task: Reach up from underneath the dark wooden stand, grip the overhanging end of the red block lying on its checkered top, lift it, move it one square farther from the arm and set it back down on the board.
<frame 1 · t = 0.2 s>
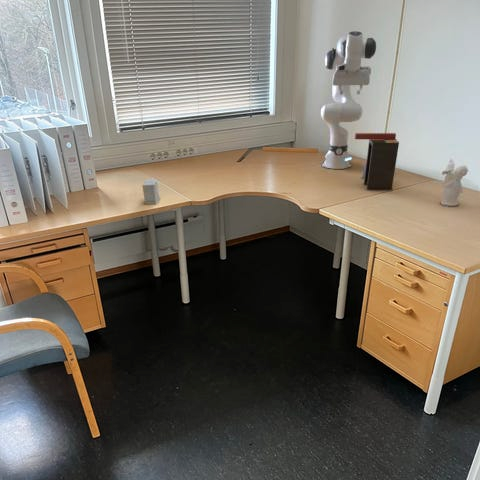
hand: (349, 94, 268), 48 cm above the table, tool pointing down, fingers open, 8 cm apart
red block: (374, 138, 268), point 26 cm above the table, touching stand
cosmetics box: (152, 201, 263), on the table
medicine box: (369, 179, 294), on the table
stand: (377, 186, 279), on the table
cherub figurine: (445, 204, 252), on the table
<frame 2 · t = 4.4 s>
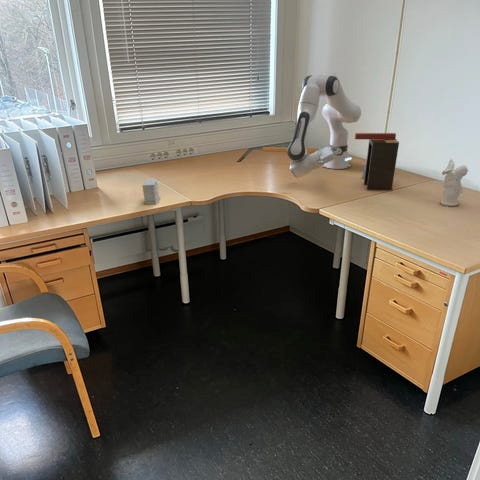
hand: (339, 147, 272), 21 cm above the table, tool pointing upward, fingers open, 8 cm apart
nothing on the table moved.
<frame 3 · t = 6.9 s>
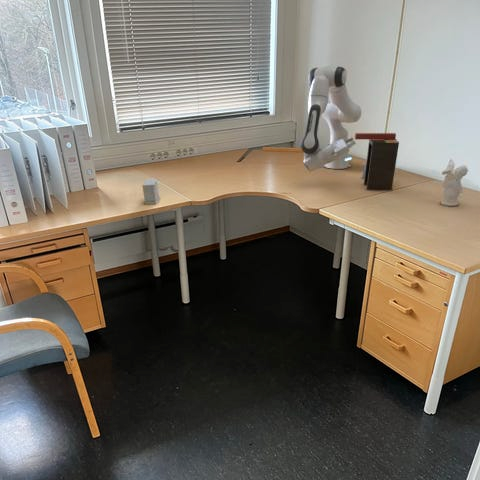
hand: (353, 140, 269), 25 cm above the table, tool pointing upward, fingers open, 8 cm apart
nothing on the table moved.
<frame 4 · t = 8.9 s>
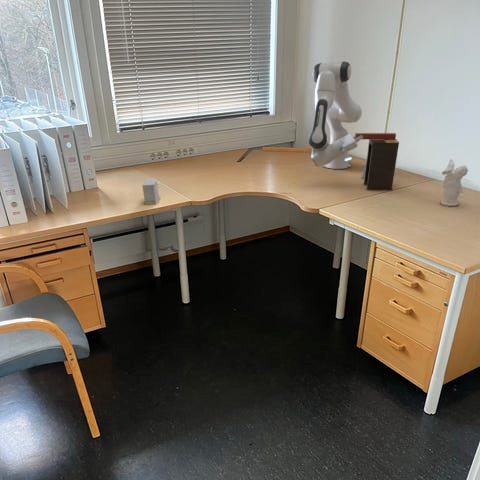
hand: (362, 135, 268), 28 cm above the table, tool pointing upward, fingers closed on red block, 3 cm apart
red block: (374, 138, 268), point 26 cm above the table, touching gripper, stand
everything else where it was.
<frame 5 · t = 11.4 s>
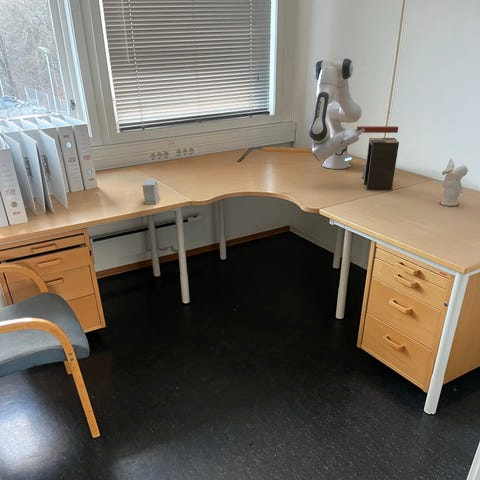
hand: (363, 128, 263), 32 cm above the table, tool pointing upward, fingers closed on red block, 3 cm apart
red block: (376, 132, 263), point 30 cm above the table, touching gripper
everything else where it was.
when the fingers open (28 cm above the table, at t = 13.8 s): red block stays where it is, resting on stand.
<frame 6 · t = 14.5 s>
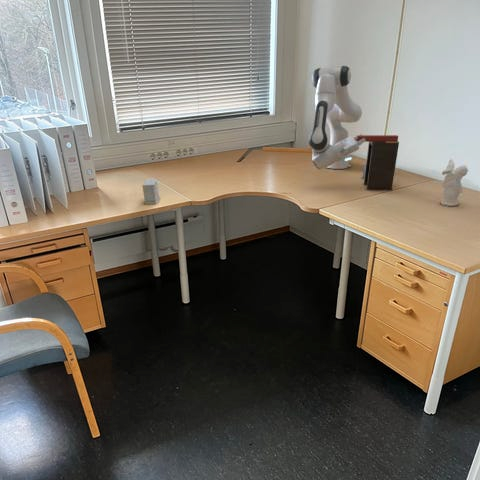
hand: (363, 137, 262), 28 cm above the table, tool pointing upward, fingers open, 8 cm apart
red block: (376, 141, 263), point 26 cm above the table, touching stand
everything else where it was.
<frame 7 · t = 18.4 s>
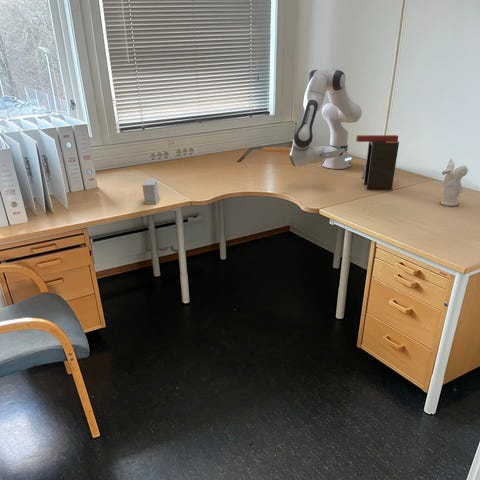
hand: (342, 148, 270), 21 cm above the table, tool horizontal, fingers open, 8 cm apart
nothing on the table moved.
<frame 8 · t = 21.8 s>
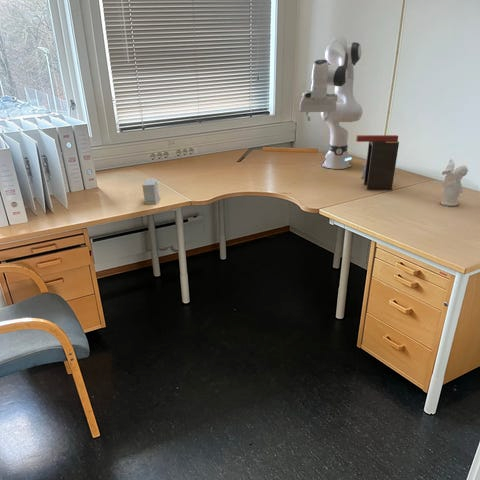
hand: (316, 120, 270), 35 cm above the table, tool pointing down, fingers open, 8 cm apart
nothing on the table moved.
at the end: red block 0.1 cm from the target spot, point 26.2 cm above the table; red block tilted 0°; the gripper is holding nothing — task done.
